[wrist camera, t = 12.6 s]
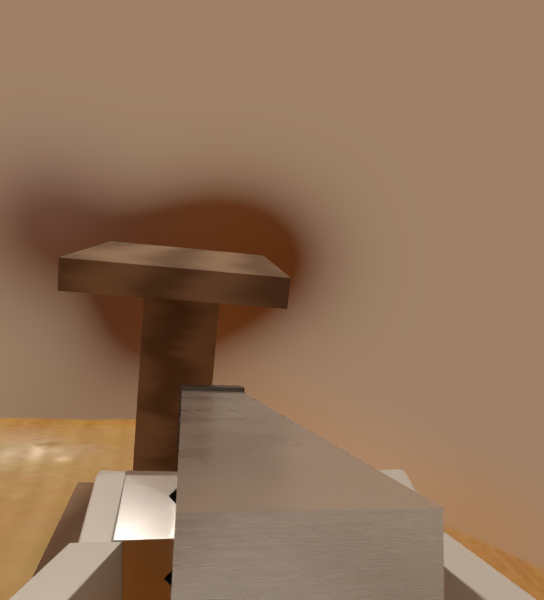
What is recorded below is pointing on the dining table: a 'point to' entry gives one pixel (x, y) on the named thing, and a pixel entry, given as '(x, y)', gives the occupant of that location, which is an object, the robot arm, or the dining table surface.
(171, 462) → the mount stand
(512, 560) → the dining table surface
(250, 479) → the grey square bar
